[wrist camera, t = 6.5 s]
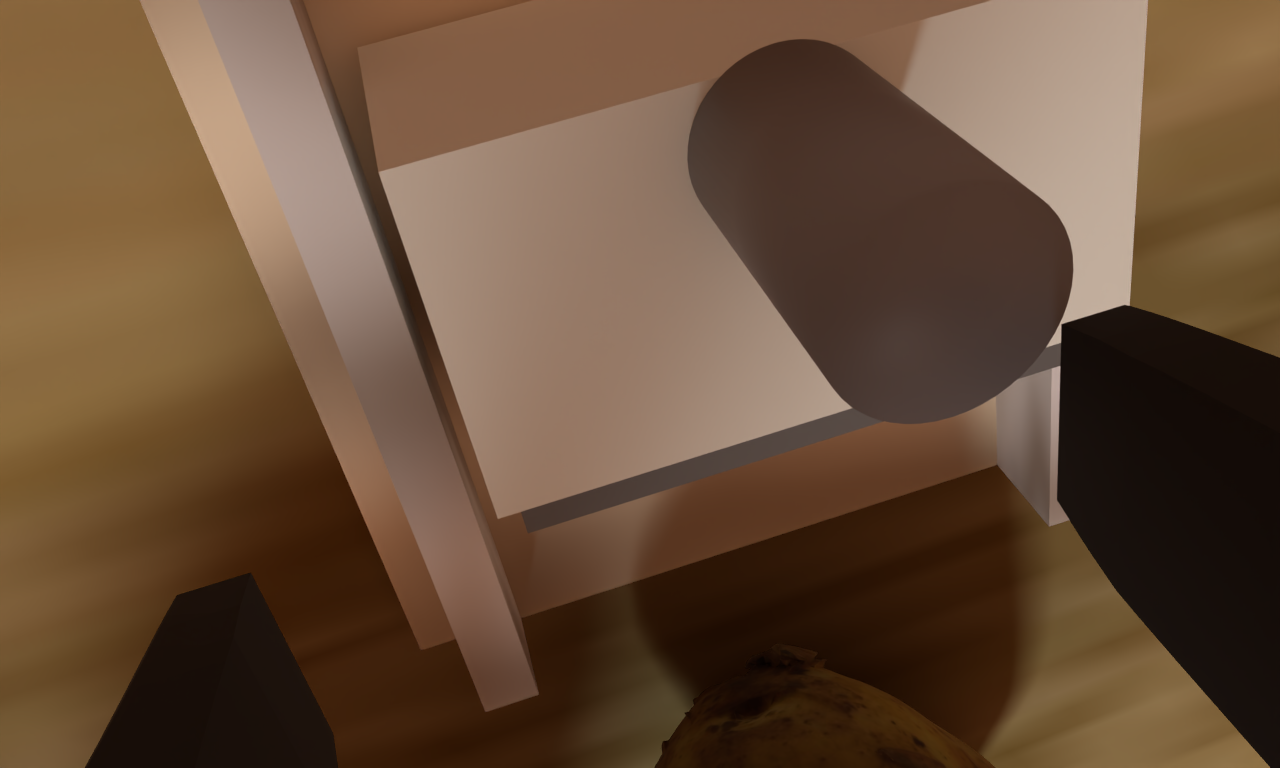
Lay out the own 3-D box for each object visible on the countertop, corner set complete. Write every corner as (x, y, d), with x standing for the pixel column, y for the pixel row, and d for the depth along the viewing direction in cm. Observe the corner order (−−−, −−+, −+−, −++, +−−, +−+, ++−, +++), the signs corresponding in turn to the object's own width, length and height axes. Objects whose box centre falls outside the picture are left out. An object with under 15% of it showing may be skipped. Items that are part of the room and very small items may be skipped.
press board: (1061, 409, 25) (1145, 494, 23) (416, 615, 24) (431, 730, 21) (1077, -284, 18) (1205, -268, 15) (137, -43, 16) (110, 18, 14)
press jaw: (974, 224, 20) (1331, 537, 13) (466, 376, 19) (567, 794, 12) (964, -131, 17) (1432, 40, 10) (352, 33, 16) (403, 345, 9)
